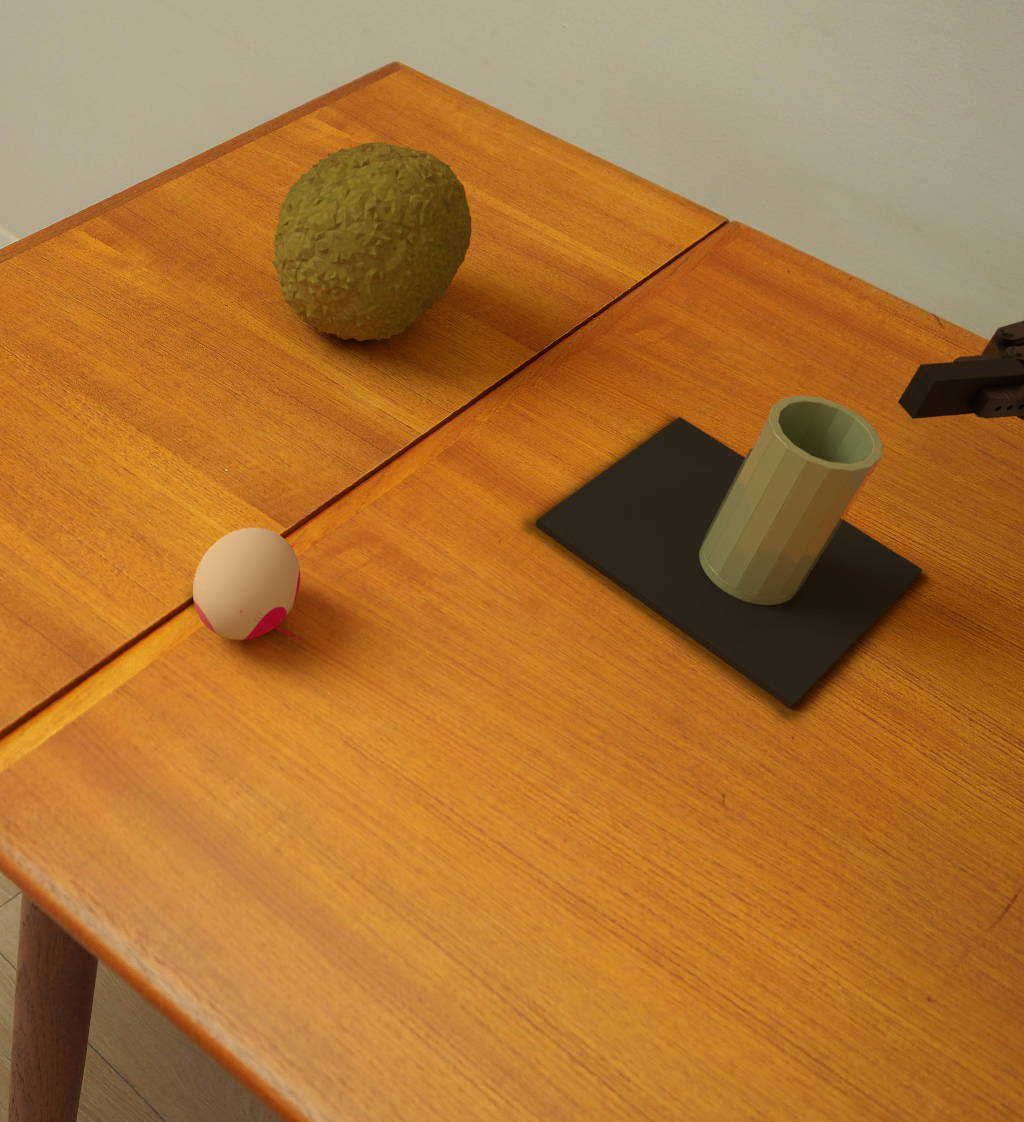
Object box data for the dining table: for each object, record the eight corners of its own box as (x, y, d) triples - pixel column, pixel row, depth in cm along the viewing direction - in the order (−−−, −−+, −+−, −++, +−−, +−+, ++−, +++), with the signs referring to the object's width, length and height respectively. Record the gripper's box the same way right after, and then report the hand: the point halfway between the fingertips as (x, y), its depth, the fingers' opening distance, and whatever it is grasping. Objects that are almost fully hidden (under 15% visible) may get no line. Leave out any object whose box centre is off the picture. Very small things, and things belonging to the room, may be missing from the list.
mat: (919, 575, 87) (923, 569, 87) (791, 709, 78) (795, 703, 77) (677, 422, 96) (679, 416, 96) (534, 525, 86) (536, 519, 86)
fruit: (250, 245, 106) (350, 83, 99) (393, 338, 108) (500, 185, 102) (225, 298, 91) (339, 112, 85) (390, 403, 94) (514, 230, 87)
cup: (818, 573, 85) (902, 439, 77) (767, 621, 82) (850, 486, 73) (731, 517, 88) (803, 381, 80) (679, 561, 85) (749, 423, 76)
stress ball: (233, 699, 77) (297, 674, 72) (144, 604, 75) (203, 571, 70) (294, 619, 82) (359, 590, 77) (212, 528, 80) (272, 492, 75)
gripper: (1278, 484, 76) (951, 520, 70) (1129, 350, 84) (826, 372, 78) (1370, 385, 71) (1025, 415, 64) (1201, 253, 79) (882, 268, 73)
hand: (916, 391), depth 71 cm, fingers closed
